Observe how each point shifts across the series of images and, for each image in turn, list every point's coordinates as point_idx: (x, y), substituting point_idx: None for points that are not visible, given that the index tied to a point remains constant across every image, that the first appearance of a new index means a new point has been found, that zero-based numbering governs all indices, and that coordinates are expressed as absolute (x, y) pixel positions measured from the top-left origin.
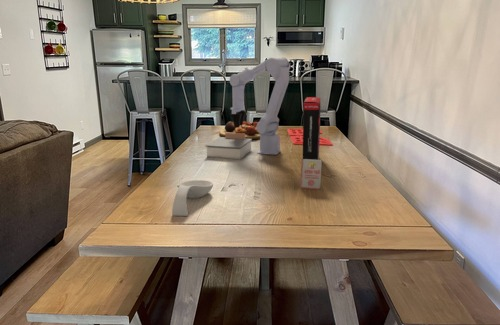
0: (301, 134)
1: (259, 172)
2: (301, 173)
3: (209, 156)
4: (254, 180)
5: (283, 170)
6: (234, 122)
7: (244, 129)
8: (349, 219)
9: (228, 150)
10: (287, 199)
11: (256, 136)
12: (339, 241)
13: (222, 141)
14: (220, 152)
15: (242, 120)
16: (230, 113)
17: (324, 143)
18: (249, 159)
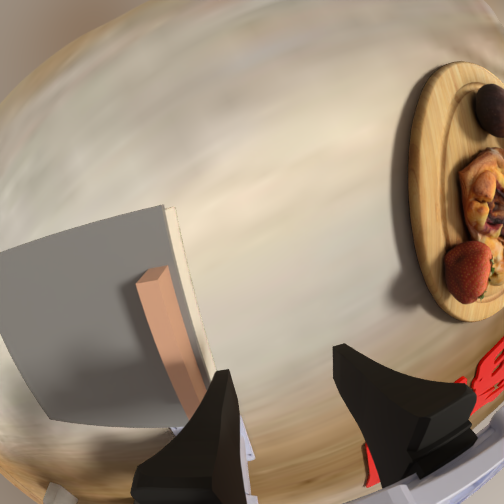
0: (480, 385)
1: (40, 441)
2: (44, 497)
3: None
4: (11, 434)
5: (87, 475)
6: (206, 408)
7: (490, 214)
8: (37, 494)
9: None
10: (15, 464)
11: (440, 300)
12: (8, 479)
13: (60, 304)
14: None
15: (355, 413)
16: (134, 489)
17: (375, 477)
18: None
